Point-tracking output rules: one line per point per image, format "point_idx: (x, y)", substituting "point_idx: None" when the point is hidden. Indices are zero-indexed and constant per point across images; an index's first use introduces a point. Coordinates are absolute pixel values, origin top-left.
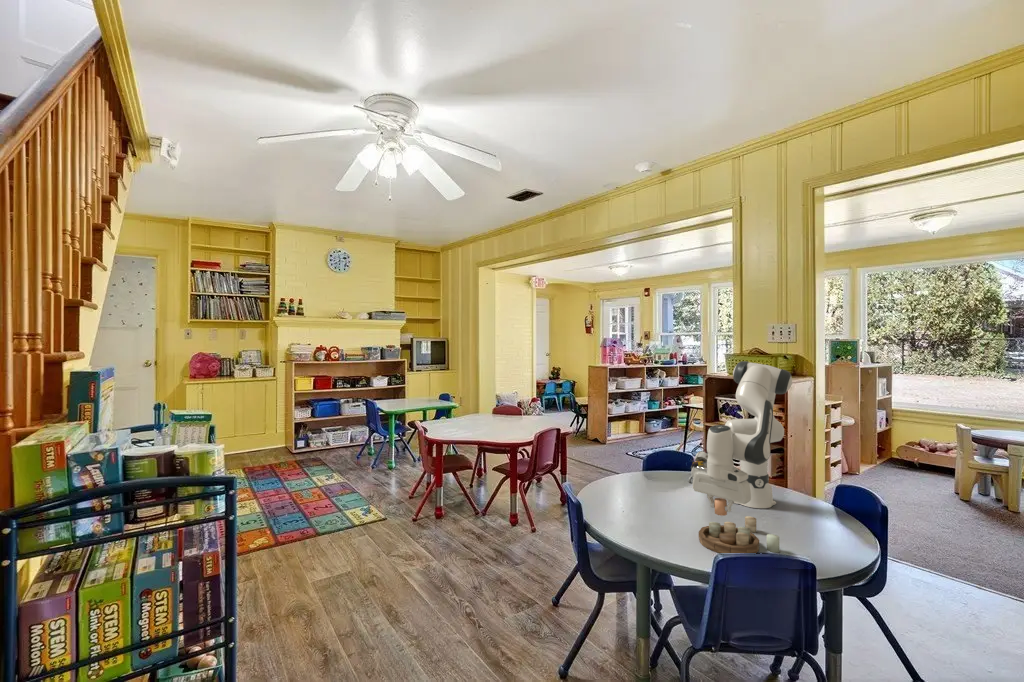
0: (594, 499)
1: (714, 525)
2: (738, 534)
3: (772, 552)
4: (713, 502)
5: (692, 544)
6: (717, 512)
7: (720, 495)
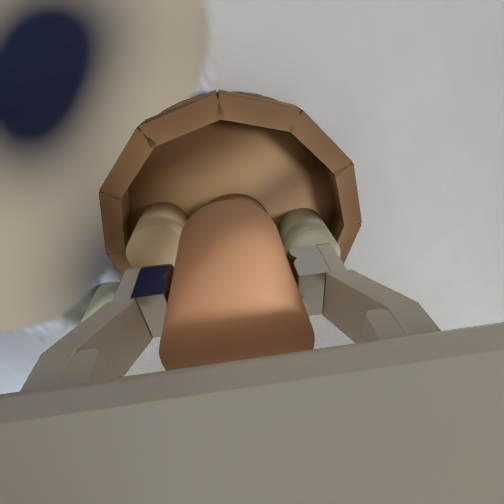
0: None
1: (305, 241)
2: (167, 243)
3: (104, 283)
4: (318, 291)
5: (337, 72)
6: (229, 210)
7: (180, 406)
